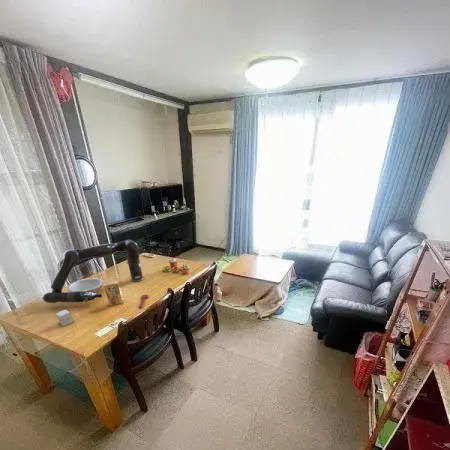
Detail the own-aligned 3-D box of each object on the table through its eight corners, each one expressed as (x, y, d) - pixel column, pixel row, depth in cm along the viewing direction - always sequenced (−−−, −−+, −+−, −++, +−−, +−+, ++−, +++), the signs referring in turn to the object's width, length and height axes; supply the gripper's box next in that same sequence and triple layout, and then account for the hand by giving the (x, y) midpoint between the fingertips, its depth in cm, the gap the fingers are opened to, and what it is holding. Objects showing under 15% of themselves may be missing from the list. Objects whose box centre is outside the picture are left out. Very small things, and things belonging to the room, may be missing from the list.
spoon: (142, 296, 189) (142, 294, 188) (148, 295, 189) (148, 294, 188) (137, 308, 174) (136, 306, 173) (143, 307, 174) (143, 306, 173)
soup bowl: (110, 291, 196) (108, 283, 193) (77, 303, 181) (74, 295, 178) (97, 282, 211) (94, 275, 208) (65, 293, 196) (63, 285, 192)
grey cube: (73, 322, 160) (69, 312, 156) (62, 326, 156) (58, 316, 152) (69, 318, 163) (65, 309, 160) (59, 323, 159) (55, 313, 156)
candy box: (122, 300, 183) (117, 281, 176) (122, 303, 180) (118, 283, 173) (109, 303, 180) (103, 283, 173) (109, 306, 177) (104, 286, 169)
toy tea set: (161, 271, 229) (159, 261, 224) (170, 265, 242) (169, 255, 237) (186, 275, 220) (185, 265, 216) (195, 269, 233) (194, 259, 228)
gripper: (69, 296, 168) (96, 295, 169) (78, 287, 179) (103, 286, 180) (73, 306, 172) (99, 304, 172) (81, 296, 183) (106, 295, 184)
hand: (101, 295), depth 176 cm, fingers closed
